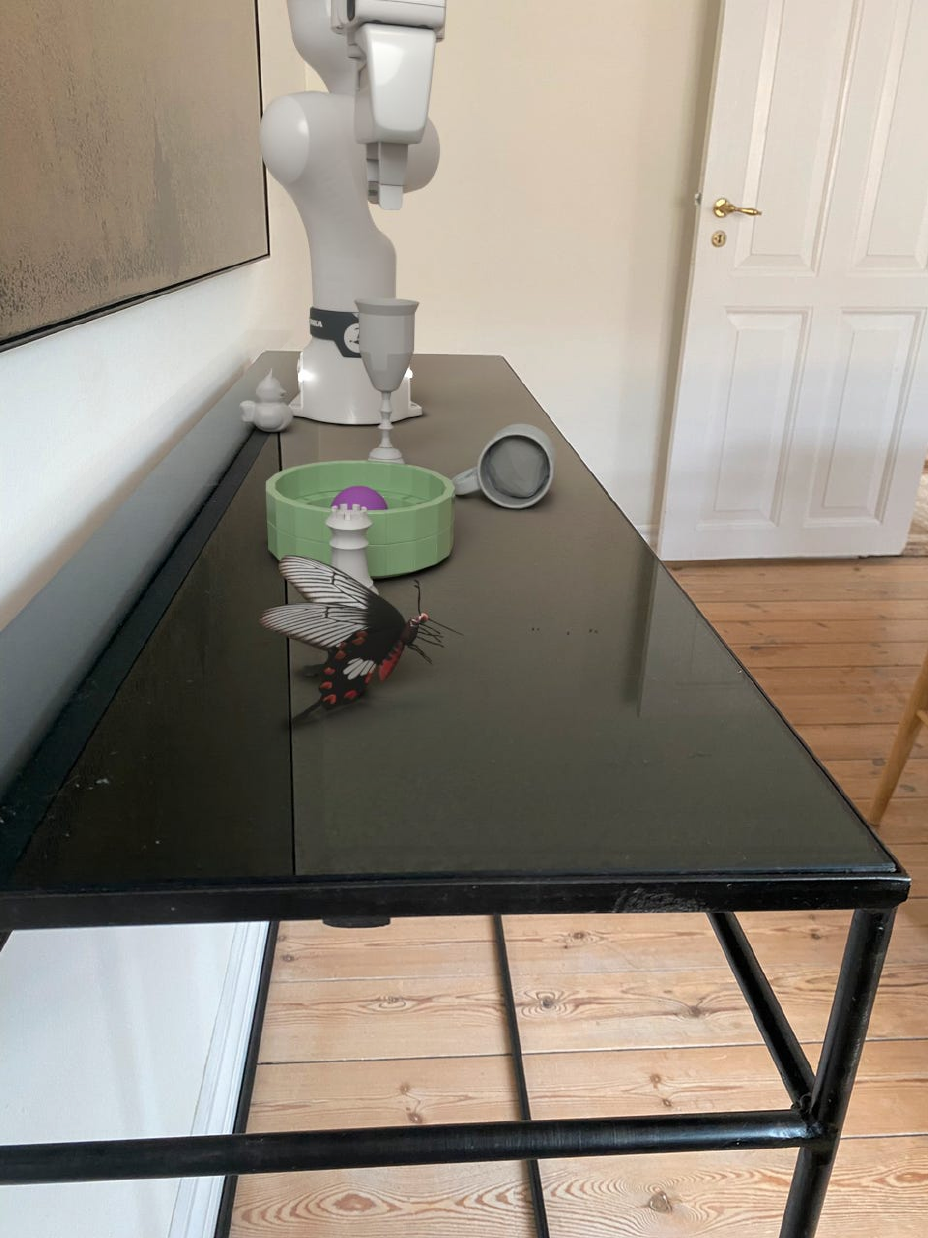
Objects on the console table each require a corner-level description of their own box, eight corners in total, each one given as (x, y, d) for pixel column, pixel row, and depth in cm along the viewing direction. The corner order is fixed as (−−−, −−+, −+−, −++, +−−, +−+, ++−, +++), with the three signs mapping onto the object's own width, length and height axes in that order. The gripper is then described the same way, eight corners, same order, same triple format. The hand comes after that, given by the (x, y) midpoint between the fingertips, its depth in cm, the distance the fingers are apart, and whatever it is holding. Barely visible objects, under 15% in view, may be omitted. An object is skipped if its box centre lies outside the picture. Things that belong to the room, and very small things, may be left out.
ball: (328, 532, 81) (326, 478, 79) (385, 529, 82) (384, 475, 80) (332, 556, 77) (329, 499, 75) (392, 553, 78) (391, 497, 76)
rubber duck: (294, 436, 117) (292, 371, 114) (240, 436, 116) (236, 370, 112) (293, 426, 122) (290, 364, 118) (241, 426, 120) (237, 363, 117)
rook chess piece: (354, 632, 65) (354, 523, 62) (306, 616, 67) (302, 510, 64) (392, 611, 69) (393, 507, 65) (344, 597, 71) (343, 495, 68)
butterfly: (311, 777, 56) (187, 667, 52) (355, 685, 62) (247, 582, 59) (441, 712, 50) (310, 583, 47) (475, 618, 56) (363, 498, 53)
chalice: (406, 481, 100) (409, 306, 93) (346, 475, 101) (344, 302, 94) (422, 465, 107) (427, 300, 99) (366, 459, 108) (365, 296, 101)
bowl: (268, 524, 86) (266, 460, 83) (436, 521, 88) (438, 459, 86) (268, 589, 72) (265, 514, 69) (467, 582, 75) (470, 511, 72)
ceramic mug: (554, 489, 100) (558, 417, 97) (551, 511, 92) (556, 434, 89) (456, 483, 101) (458, 412, 98) (445, 505, 94) (447, 429, 90)
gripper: (338, 23, 80) (337, 199, 86) (358, -17, 62) (354, 210, 68) (411, 30, 81) (405, 203, 87) (451, -6, 63) (439, 215, 69)
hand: (383, 206), depth 77 cm, fingers open, 8 cm apart
